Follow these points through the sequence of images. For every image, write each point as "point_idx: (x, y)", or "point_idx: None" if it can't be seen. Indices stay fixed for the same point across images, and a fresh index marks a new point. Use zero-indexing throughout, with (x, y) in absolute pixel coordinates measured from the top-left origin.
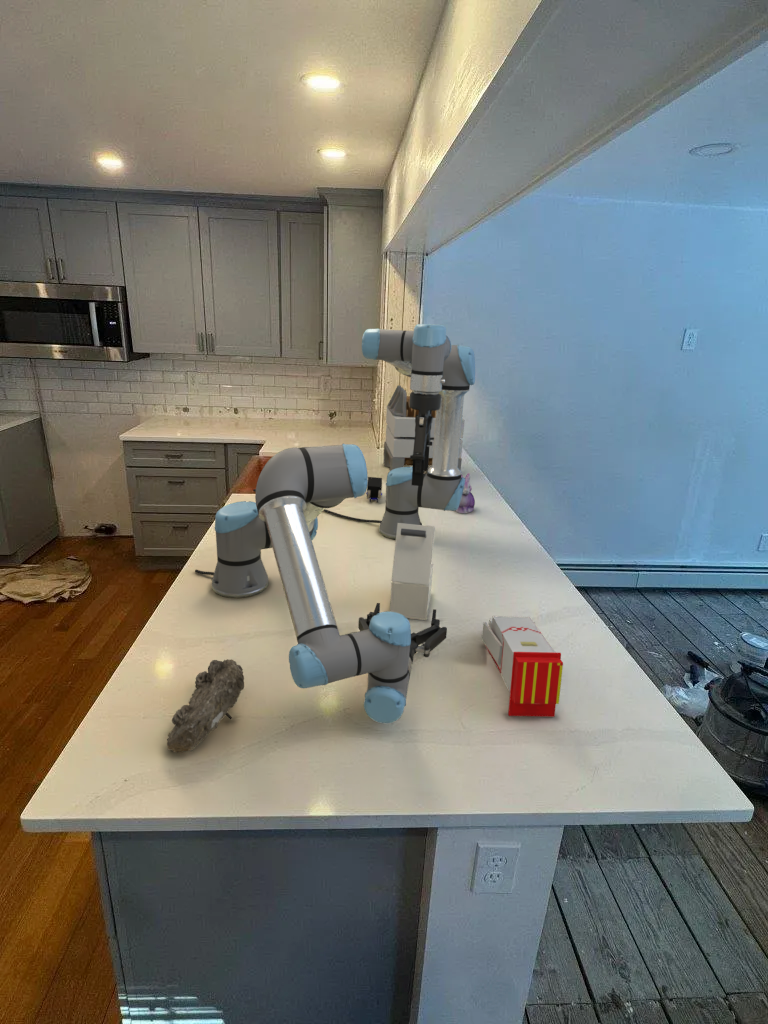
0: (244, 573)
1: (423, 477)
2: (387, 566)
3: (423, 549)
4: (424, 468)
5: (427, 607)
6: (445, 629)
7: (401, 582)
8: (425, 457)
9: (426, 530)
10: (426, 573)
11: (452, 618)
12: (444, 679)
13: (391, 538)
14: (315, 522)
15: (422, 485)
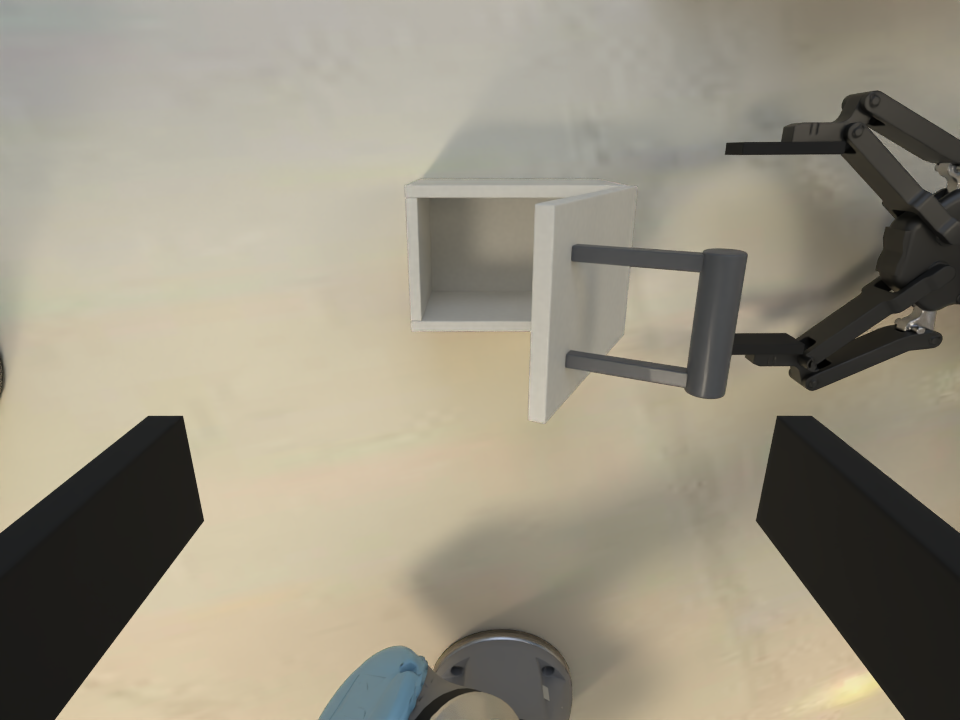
0: (555, 714)
1: (841, 464)
2: (247, 355)
3: (594, 242)
4: (173, 467)
5: (601, 180)
6: (882, 96)
7: (429, 293)
8: (78, 560)
9: (563, 251)
10: (625, 205)
11: (568, 85)
12: (921, 93)
13: (1, 377)
14: (411, 704)
15: (815, 422)
